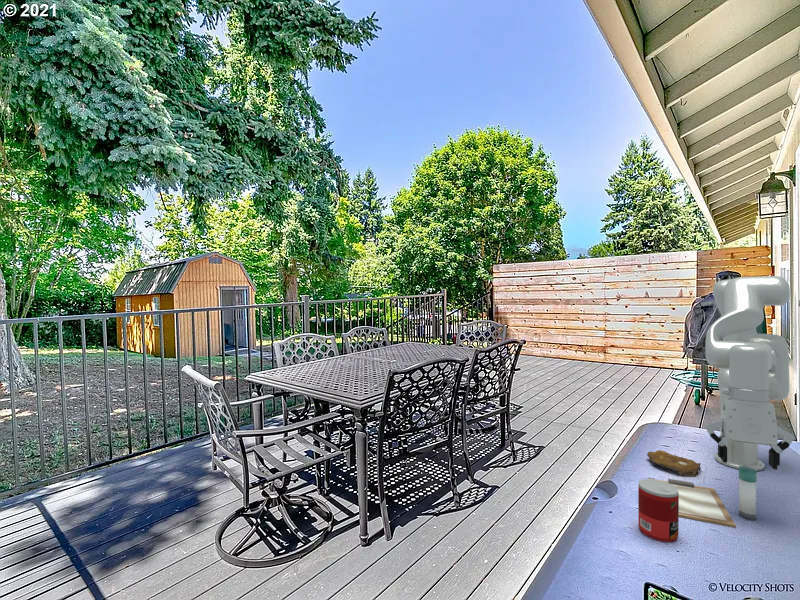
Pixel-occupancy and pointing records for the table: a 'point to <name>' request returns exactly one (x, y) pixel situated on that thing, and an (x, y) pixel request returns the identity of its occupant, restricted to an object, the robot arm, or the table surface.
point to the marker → (747, 492)
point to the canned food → (658, 510)
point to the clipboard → (700, 503)
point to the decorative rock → (675, 463)
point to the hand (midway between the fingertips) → (747, 464)
